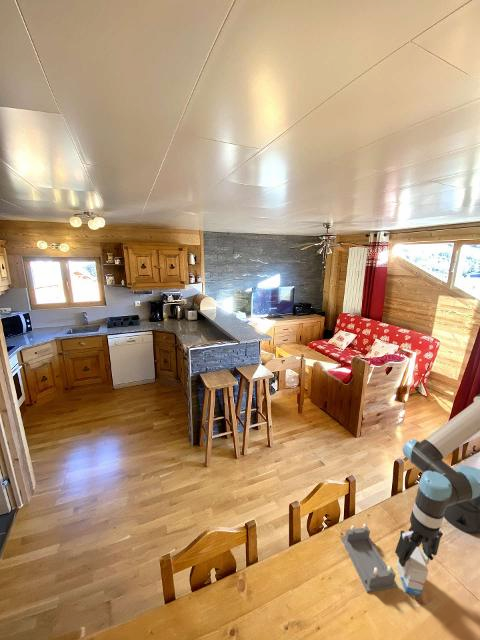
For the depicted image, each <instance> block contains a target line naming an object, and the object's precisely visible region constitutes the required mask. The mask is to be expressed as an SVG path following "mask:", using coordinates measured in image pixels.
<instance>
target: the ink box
mask: <svg viewBox="0 0 480 640" xmlns="http://www.w3.org/2000/svg"><path fill="white" fill-rule="evenodd" d="M420 550H421V549H420V546H419V547H416V548H415V550H414V551H413V553H412V555H411V556H410V558H409V561H410V563H409V566H408V570H407V573H406V576H404V575H403V574H402V572H401V570H400V569H399V567H398V565H399V557H398V556H397V557H398V558H397V560H396V564H395V565H396V568H397V571H398V574H399V577H400V580H401V583H402V586H403V589H404V592H405V593H407V594H410V595H411V594H412V595H414V596H415V595H416V596H422V592H423V589H424V586H425V582H426V579H427V576H428V574H429V569H428V565H426V564H425V561H424V559H423V556H422V554H421V552H420Z"/></svg>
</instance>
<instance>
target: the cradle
mask: <svg viewBox="0 0 480 640" xmlns="http://www.w3.org/2000/svg"><path fill="white" fill-rule="evenodd" d="M355 527H356V526H355V525H353V524H352V525H351V526H350V528H349V529H346V530H345V533H344V534H345V535H344V536H341V537H340V539H341V542H342V543H343V546H344V547H345V549H346V551H347V553H348V557H349V558H350V559H351V562H352V564H353V566H354V568H355V570H356V572H357V574H358V576H359V578H360V580H361V584H363V587H364V589H365V591H366V593H372V592H379V591H383V590H389V589H395V588H398V584H397V583H396V581H395V579H396V573H395V571H394V569H393V567H392V566H391V565H390V564H389V565H387V564H386V563H385V561H384V559H383V558H382V556H381V555H380V553H379V550H378V549H377V547H376V546H375V544H374V542H373V541H372V538H371V537H370V533H371V530H370V529H369V527H368V525H367V524H366V523H363V524H362V527H359V528H358V527H356V528H355Z"/></svg>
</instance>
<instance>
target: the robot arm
mask: <svg viewBox="0 0 480 640" xmlns="http://www.w3.org/2000/svg"><path fill="white" fill-rule="evenodd" d="M479 432H480V393H479V394H476V396H474V398H473V402H472V403H471V404H469V405H468V406H467V407H466V408H464V409H463V410H461V412H459V413H458V414H456V415H455V416H454V417H453V418H450V420H449V421H447V422H446V423H445V424H442V426H440V427H439V428H438V429H436V430H435V431H434V432H432V433H431V434H430V435H428V436H427V437H426V438H425V439H423V440H421V441H419V440H417V439H409V440H407V441H406V442H405V443H404V445H403V446H402V453H403V454H402V455H404V456H405V458H407V460H409V461H410V463H411V464H412V465H414V466H415V467H417V468H418V470H420V471H421V472H422V474H421V477H420V479H419V481H418V487H417V488H418V489H417V492H416V496H415V498H414V500H415V501H414V503H413V508H412V510H411V513H410V517H409V523H410V528H409V529H408V531H406V532H405V531H404V529H403V530H401V531H399V532H400V533H399V534H400V535H399V539H398V542H397V545H396V549H395V551H394V553H395V554H396V555H397V557H399V565H398V567H399V569H400V570H401V572H402V574H403V575H404V576H406V573H407V570H408V566H409V563H410V561H409V558H410V556H411V555H412V553H413V551H414V550H415V548H416V547H419V548H420V546H422V549H420V552H421V554H422V556H423V559H424V561H425V564H426V566H428V565H427V564H428V563H429V560H430V561H433V560H434V556H437V555H438V551H439V546H440V542H441V538H442V537H443V532H442V531H441V527H442V523H443V520H444V519H445V520H446V521H448V523H450V524H451V525H452V526H454V527H456V528H457V529H459V530H460V531H463V532H465V533H468V534H472V535H478V534H480V468H476V467H474V466H471V465H464V464H463V465H458V466H456V467H455V469H454V468H453V467H451V466H450V465H449V464H447V463H446V462H445V461H443V459H444V458H446V457H447V456H448V455H449V454H451V453H453V451H455V450H456V449H458V448H459V447H460V446H461V445H463V444H464V443H466V442H467V441H468V440H470V439H471V438H472V437H473V436H475V435H476V434H478V433H479ZM432 555H433V556H432Z"/></svg>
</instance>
